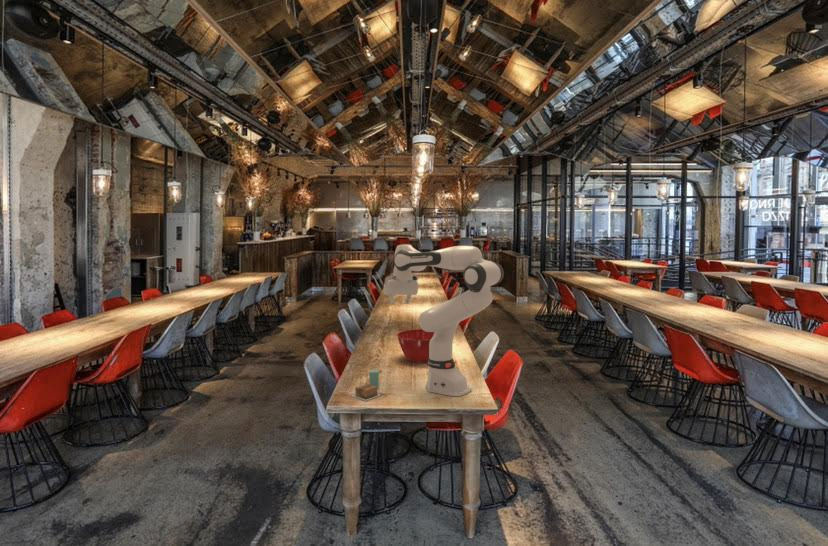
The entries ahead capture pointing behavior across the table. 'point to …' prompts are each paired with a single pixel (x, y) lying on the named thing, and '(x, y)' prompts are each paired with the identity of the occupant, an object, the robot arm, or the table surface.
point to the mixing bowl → (415, 344)
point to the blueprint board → (366, 399)
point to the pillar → (374, 378)
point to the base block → (366, 391)
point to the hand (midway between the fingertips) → (399, 303)
